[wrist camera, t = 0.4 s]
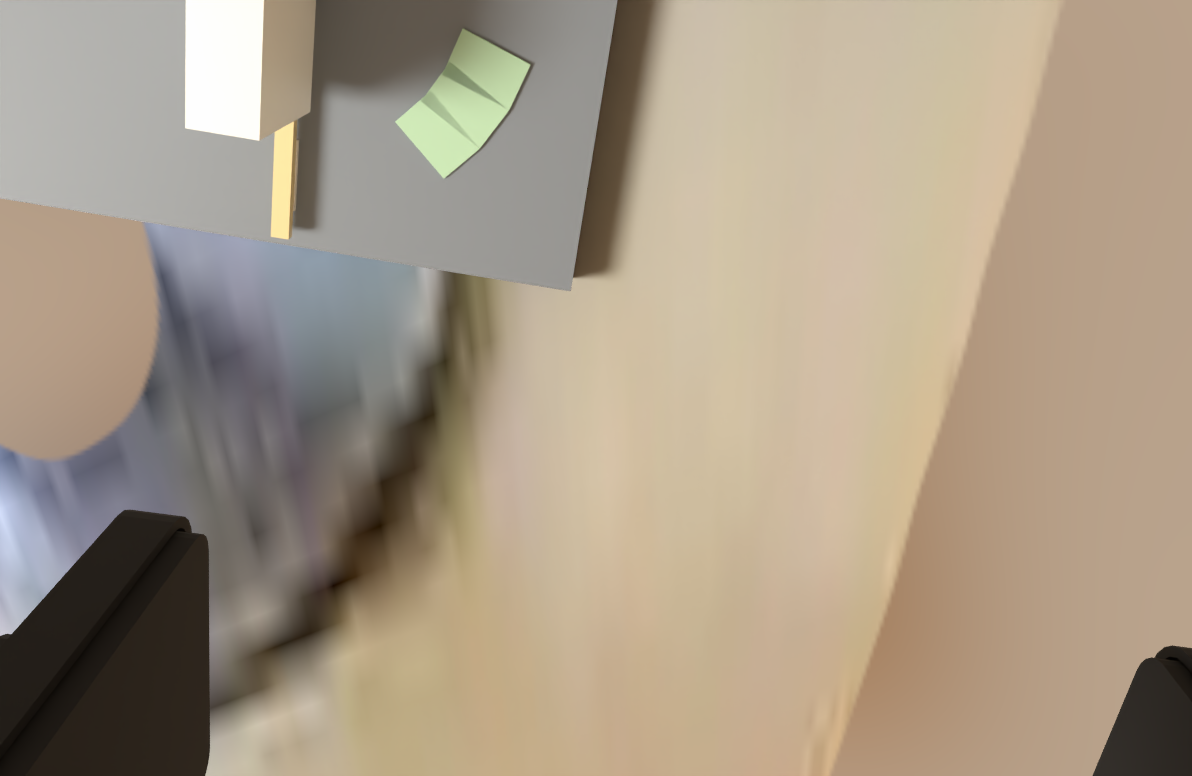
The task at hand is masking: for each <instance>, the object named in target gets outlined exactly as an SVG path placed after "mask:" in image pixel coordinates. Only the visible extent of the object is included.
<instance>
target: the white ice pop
mask: <svg viewBox="0 0 1192 776" xmlns="http://www.w3.org/2000/svg"><path fill="white" fill-rule="evenodd" d="M315 10H316V0H186V58H185V128H187V129H193V130H199V131H204V132H210V133H216V134H222V135H228V136H234V137H240V138H246V139H252V140H258V141H260V140H261V139H263V138H265V137H267V136H269V135H270V134H272V133H274V132H275V138H274V164H273V190H272V217H271V237H276V238H282V239H288V240H289V239H290V238H291V237H292V224H293V203H294V181H295V160H296V138H297V119H299V118H301V117H302V116H304V115H306V114H308V113H309V112H310V108H311V89H312V69H313V49H314V30H315Z"/></svg>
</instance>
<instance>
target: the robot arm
mask: <svg viewBox="0 0 1192 776" xmlns="http://www.w3.org/2000/svg"><path fill="white" fill-rule="evenodd" d="M209 752H210V698H209V549H208V541H207V538H206V536H205V535H204V534H197V533H192V531H191V526H190V523H189V520H188V519H187V518H186V517H182V516H175V515H167V514H159V513H152V512H144V511H136V510H124V511H123V512H121V513H120V514H119V515H118V516H117V517H116V518H115V519H114V520H113V521H112V523H111V524H110V525H109V526H108V527H107V528H106V529H105V530H104V532H103V533H102V534H101V535H100V536H99V537H98V538H97V539H96V540H95V542H94V543H93V544H92V545H91V546H90V547H89V548H88V549H87V551H86V552H85V553H84V554H83V555H82V556H81V557H80V558H79V560H78V561H77V562H76V563H75V564H74V565H73V566H72V567H71V568H70V570H69V571H68V572H67V573H66V574H65V575H64V576H63V577H62V579H61V580H60V581H59V582H58V583H57V584H56V585H55V586H54V588H53V589H52V590H51V591H50V592H49V593H48V594H47V595H46V596H45V598H44V599H43V600H42V601H41V602H40V603H39V604H38V605H37V607H36V608H35V609H34V610H33V611H32V612H31V613H30V614H29V616H28V617H27V618H26V619H25V620H24V621H23V622H22V623H21V625H20V626H19V627H18V628H17V629H16V630H15V631H14V632H13V633H12V634H5V635H2V636H0V776H205V774H206V770H207V766H208V760H209ZM1093 776H1192V648H1186V647H1178V646H1169V647H1164V648H1163V649H1162V650H1161V651H1159V652H1158V653H1157V655H1156V656H1155V658H1148V659H1145V660H1144V661H1143V662H1142V663H1141V664H1140V666H1139V668H1138V669H1137V671H1136V674H1135V676H1134V678H1133V681H1132V683H1131V685H1130V688H1129V690H1128V693H1127V695H1126V697H1125V700H1124V702H1123V704H1122V707H1121V709H1120V712H1119V714H1118V717H1117V719H1116V721H1115V724H1114V726H1113V728H1112V731H1111V733H1110V736H1109V738H1108V740H1107V743H1106V745H1105V747H1104V750H1103V752H1102V755H1101V757H1100V759H1099V762H1098V764H1097V766H1096V769H1095V771H1094V774H1093Z"/></svg>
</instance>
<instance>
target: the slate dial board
mask: <svg viewBox="0 0 1192 776" xmlns="http://www.w3.org/2000/svg"><path fill="white" fill-rule="evenodd" d="M617 1H618V0H316V10H315V30H314V49H313V69H312V89H311V108H310V112H309V113H308V114H306V115H304V116H302V117H301V118H299V119H297V138H296V160H295V181H294V203H293V224H292V237H291V238H290V239H289V240H288V239H282V238H276V237H271V217H272V190H273V164H274V138H275V132H274V133H272V134H270V135H269V136H267V137H265V138H263V139H261V140H260V141H258V140H252V139H246V138H240V137H234V136H228V135H222V134H216V133H210V132H204V131H199V130H193V129H187V128H185V58H186V0H0V198H2V199H8V200H14V201H20V202H26V203H32V204H39V205H45V206H51V207H57V208H63V209H69V210H75V211H82V212H88V213H94V214H100V215H106V216H112V217H119V218H124V219H130V220H137V221H143V222H149V223H155V224H161V225H167V226H173V227H180V228H186V229H192V230H198V231H204V232H210V233H216V234H222V235H229V236H235V237H241V238H247V239H253V240H259V241H265V242H271V243H278V244H284V245H290V246H296V247H302V248H308V249H314V250H320V251H327V252H333V253H339V254H345V255H351V256H357V257H363V258H369V259H376V260H382V261H388V262H394V263H400V264H406V265H412V266H419V267H425V268H431V269H437V270H443V271H449V272H455V273H461V274H468V275H474V276H480V277H486V278H492V279H498V280H504V281H510V282H517V283H523V284H529V285H535V286H541V287H547V288H553V289H559V290H566V291H571V286H572V280H573V274H574V267H575V261H576V255H577V249H578V243H579V236H580V230H581V224H582V218H583V212H584V205H585V199H586V193H587V187H588V181H589V174H590V168H591V162H592V156H593V150H594V143H595V137H596V131H597V125H598V119H599V112H600V106H601V100H602V94H603V88H604V81H605V75H606V69H607V63H608V56H609V50H610V44H611V38H612V32H613V25H614V19H615V13H616V7H617Z"/></svg>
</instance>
